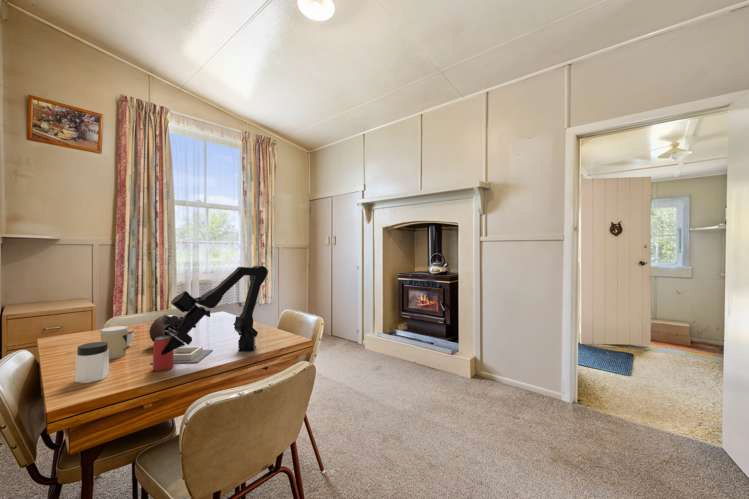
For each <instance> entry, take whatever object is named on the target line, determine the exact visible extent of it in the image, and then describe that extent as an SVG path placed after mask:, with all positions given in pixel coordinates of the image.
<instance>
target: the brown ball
mask: <svg viewBox="0 0 749 499" xmlns="http://www.w3.org/2000/svg"><path fill="white" fill-rule="evenodd" d="M164 315H165V314H164ZM164 315H161V316H159V317H157V318H156V319H154V321H153V322H152V324H151V325H150V328H149V337H150V339H151V341H152V343H154V341H155V338H157V337H160V336H163V330H164V329H163V327H164V326H165V324H162V323H160V322H161V320H162V318H163V316H164ZM166 315H167V316H173V315H174V316H177V317H178V318H179V317H181V316H180V315H177V314H173V313H171V314H170V313H169V314H166ZM164 331H165V330H164Z"/></svg>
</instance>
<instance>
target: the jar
mask: <svg viewBox="0 0 749 499" xmlns="http://www.w3.org/2000/svg"><path fill="white" fill-rule="evenodd" d="M76 353H77V354H76V355H75V383H78V384H79V383H80V384H90V383H94V382H97V381H102V380H104V379H105V378H106V377H108V376H109V374H110V368H109V367H110V366H109V365H110V359H109V349H108V343H107V342H101V341H95V342H93V341H92V342H88V343H84V344H81V345H78V346H77V352H76Z"/></svg>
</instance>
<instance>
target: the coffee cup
mask: <svg viewBox="0 0 749 499" xmlns="http://www.w3.org/2000/svg"><path fill="white" fill-rule="evenodd" d="M127 332H128V326H126V325H115V326H108V327H104V328H102V329H101V330H100V332H99V333H100V342H107V343H108V349H109V360H113V359H119V358H123V357H124V356H126V351H127V347H126V344H127Z"/></svg>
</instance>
